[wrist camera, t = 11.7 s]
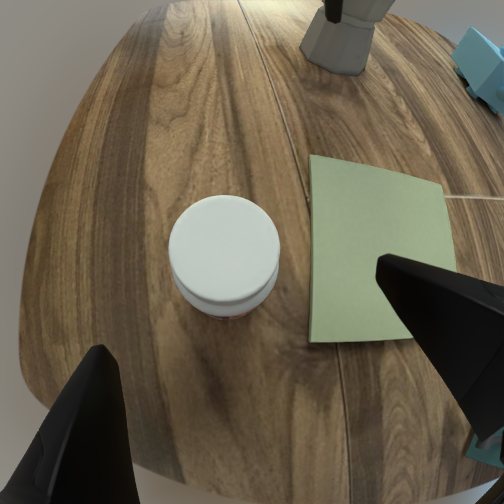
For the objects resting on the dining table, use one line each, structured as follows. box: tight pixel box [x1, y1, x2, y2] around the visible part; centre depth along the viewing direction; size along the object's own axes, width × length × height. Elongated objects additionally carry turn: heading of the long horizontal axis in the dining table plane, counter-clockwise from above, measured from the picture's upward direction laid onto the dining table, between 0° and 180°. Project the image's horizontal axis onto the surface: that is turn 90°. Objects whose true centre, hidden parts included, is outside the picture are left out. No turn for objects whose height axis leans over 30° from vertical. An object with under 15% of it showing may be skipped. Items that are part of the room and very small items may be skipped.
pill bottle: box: [169, 195, 280, 320], centre depth 13 cm, size 5×5×8 cm
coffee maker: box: [299, 0, 395, 76], centre depth 17 cm, size 15×9×18 cm, turn 146°
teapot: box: [451, 26, 504, 116], centre depth 24 cm, size 22×11×14 cm, turn 171°
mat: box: [308, 155, 456, 342], centre depth 19 cm, size 14×14×1 cm
